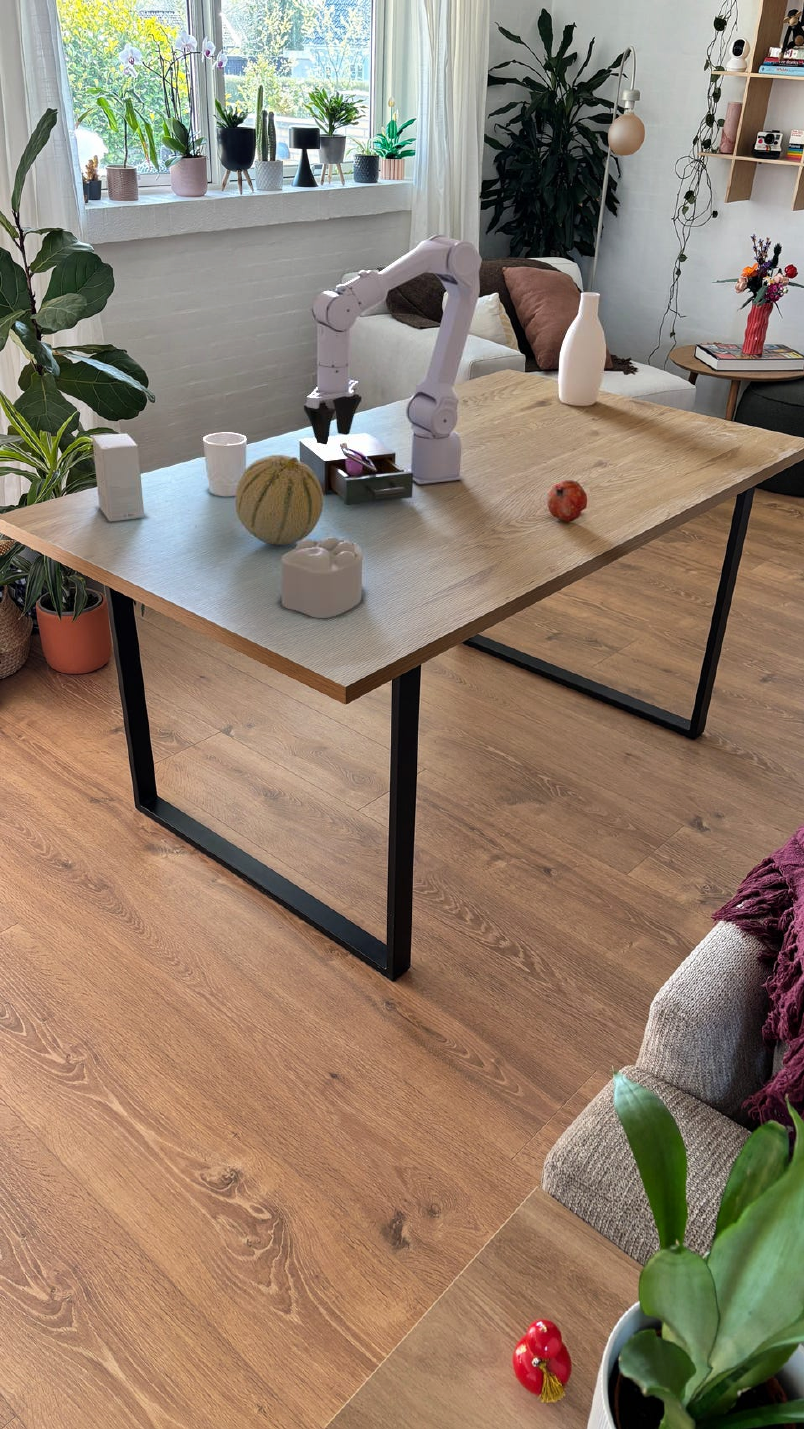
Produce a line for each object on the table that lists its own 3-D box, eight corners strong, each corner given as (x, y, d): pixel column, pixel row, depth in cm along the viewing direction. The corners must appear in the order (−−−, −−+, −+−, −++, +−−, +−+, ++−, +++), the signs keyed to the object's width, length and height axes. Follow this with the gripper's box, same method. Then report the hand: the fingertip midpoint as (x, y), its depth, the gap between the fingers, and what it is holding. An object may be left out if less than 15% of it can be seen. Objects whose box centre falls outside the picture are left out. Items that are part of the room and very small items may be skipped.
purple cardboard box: (346, 450, 196) (341, 439, 204) (333, 475, 197) (328, 463, 205) (378, 467, 198) (372, 456, 206) (365, 492, 200) (359, 480, 208)
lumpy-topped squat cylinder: (272, 603, 164) (271, 549, 160) (324, 575, 174) (324, 524, 169) (327, 622, 159) (327, 567, 155) (377, 592, 169) (379, 540, 164)
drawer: (423, 506, 200) (424, 480, 198) (356, 514, 195) (356, 488, 193) (385, 476, 213) (385, 452, 211) (321, 484, 208) (321, 459, 206)
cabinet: (394, 486, 212) (395, 453, 208) (324, 494, 206) (324, 460, 203) (366, 465, 222) (367, 433, 219) (299, 472, 217) (299, 439, 213)
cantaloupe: (243, 523, 192) (240, 439, 184) (326, 527, 192) (327, 443, 184) (229, 556, 179) (225, 467, 171) (318, 560, 179) (318, 471, 171)
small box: (145, 518, 192) (138, 445, 185) (109, 522, 190) (101, 449, 183) (133, 503, 198) (127, 432, 192) (98, 507, 196) (90, 435, 189)
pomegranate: (557, 520, 205) (528, 497, 198) (581, 488, 204) (553, 463, 196) (581, 537, 200) (553, 514, 193) (606, 505, 199) (579, 480, 192)
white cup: (240, 499, 202) (238, 447, 197) (200, 495, 203) (196, 442, 198) (253, 486, 208) (252, 434, 203) (214, 482, 210) (211, 430, 205)
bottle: (554, 405, 267) (566, 296, 254) (556, 394, 276) (567, 288, 263) (599, 409, 265) (614, 299, 252) (600, 397, 275) (614, 291, 262)
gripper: (331, 375, 188) (330, 452, 195) (372, 359, 199) (371, 433, 206) (296, 369, 190) (297, 445, 197) (339, 354, 201) (339, 426, 208)
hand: (332, 438), depth 202 cm, fingers open, 7 cm apart
